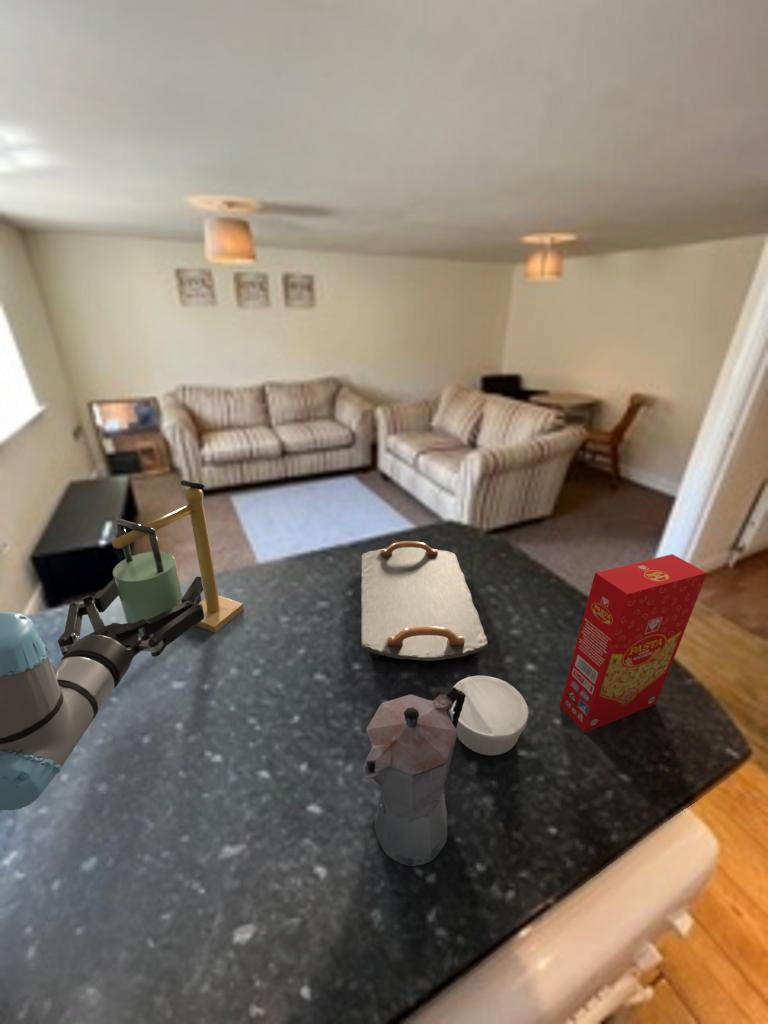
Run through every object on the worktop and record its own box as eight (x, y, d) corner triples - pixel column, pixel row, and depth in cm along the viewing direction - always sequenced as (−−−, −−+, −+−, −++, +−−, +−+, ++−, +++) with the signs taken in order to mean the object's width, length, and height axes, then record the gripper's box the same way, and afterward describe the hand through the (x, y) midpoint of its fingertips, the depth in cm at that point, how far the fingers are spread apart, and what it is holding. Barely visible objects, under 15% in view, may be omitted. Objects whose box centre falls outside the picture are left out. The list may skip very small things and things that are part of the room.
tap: (129, 661, 78) (87, 512, 66) (213, 599, 94) (192, 471, 82) (163, 676, 75) (125, 523, 63) (244, 609, 91) (226, 478, 79)
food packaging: (584, 732, 67) (627, 594, 56) (559, 705, 71) (595, 572, 60) (655, 704, 72) (707, 572, 61) (628, 681, 76) (672, 554, 65)
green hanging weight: (117, 633, 75) (86, 529, 66) (161, 603, 82) (139, 507, 74) (156, 649, 71) (129, 542, 63) (198, 617, 79) (179, 518, 71)
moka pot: (337, 842, 52) (333, 722, 44) (420, 755, 63) (430, 644, 54) (399, 912, 46) (408, 788, 38) (479, 803, 57) (500, 687, 48)
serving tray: (361, 556, 111) (361, 534, 109) (452, 555, 113) (455, 534, 110) (360, 672, 76) (360, 644, 74) (494, 670, 78) (498, 642, 75)
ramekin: (431, 732, 66) (434, 706, 64) (469, 687, 74) (473, 663, 72) (501, 780, 60) (506, 753, 57) (534, 725, 67) (540, 700, 65)
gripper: (-1, 696, 59) (92, 599, 78) (189, 697, 60) (235, 601, 79) (-22, 652, 56) (81, 563, 75) (179, 654, 56) (230, 565, 76)
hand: (160, 582), depth 77 cm, fingers open, 13 cm apart
